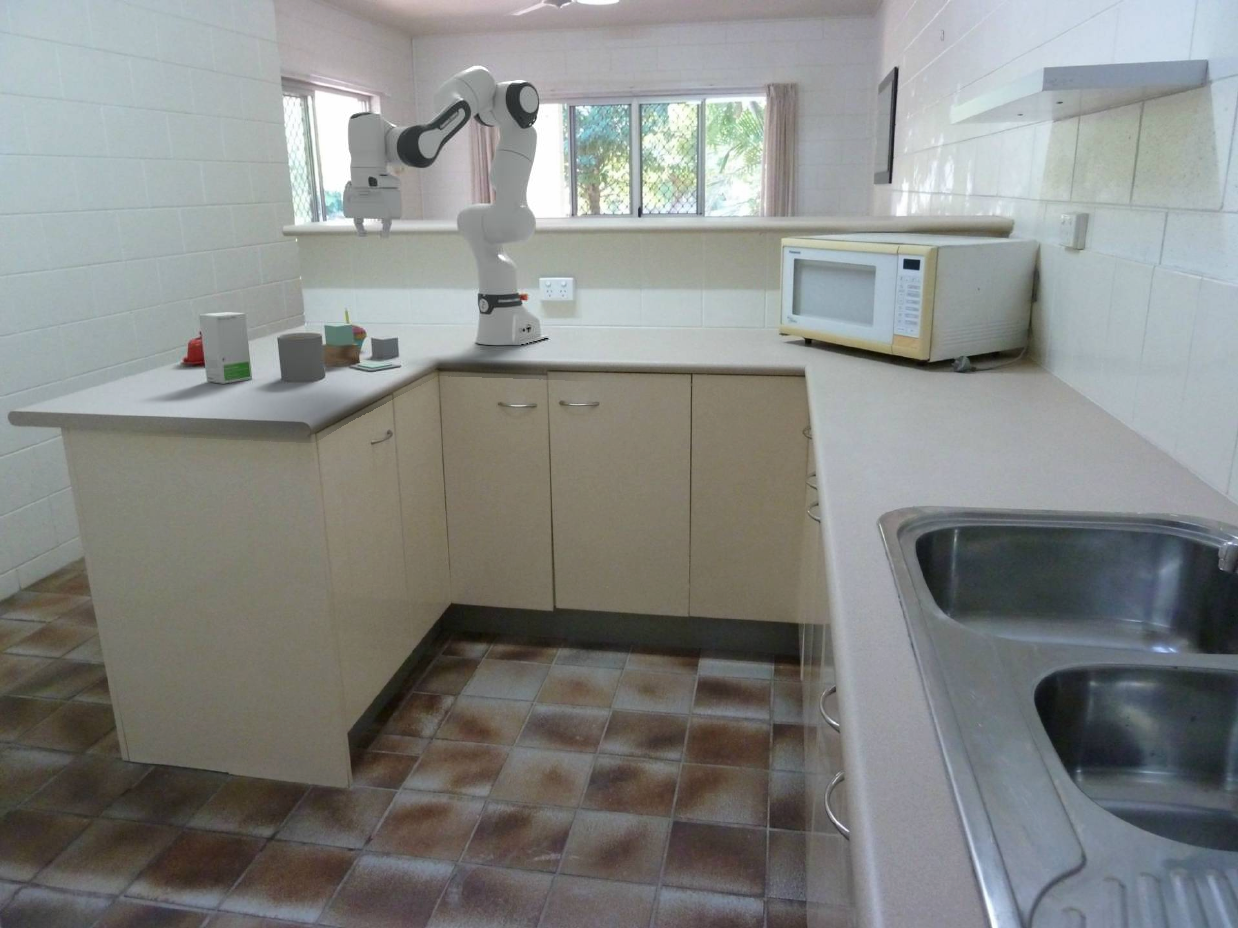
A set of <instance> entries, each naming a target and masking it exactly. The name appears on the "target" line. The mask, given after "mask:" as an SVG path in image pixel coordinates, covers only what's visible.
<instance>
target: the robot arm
mask: <svg viewBox="0 0 1238 928" xmlns="http://www.w3.org/2000/svg"><path fill="white" fill-rule="evenodd" d="M539 97H540V96H539V93H538V91H537V88H536V86H535V85H533V84H532V83H531V82H529V81H527V80H513V81H503V82H498V83H497V82H496V81H495V78H494V76H493V75H492V73H491V72H490V71H489V70H488V69H486V68H485V67H483V66H481V65H474V66H471V67H468V68H466V69H464V70H462V71H460V72H458V73H456V74H454V75H453V76H451V77H450V78H448V79H447V80H445V82H444V83H442V84H441V85H440V86H439V87H438V88H437V89H436V90H435V92H434V95H433V108H434V110H435V112H436V115H435V116H434V117H433V118H432V119H431V120H429V121H428V122H427V123H425V124H415V125H411V126H397V125H395V124H392V123H391V122H389V120H387V119H385V118H384V116H383V115H382V114H381V113H380V112H379V111H376V110H370V111H369V110H368V111H362V112H355V113H353V114H352V115H351V116H350V117H349V119H348V125H347V141H348V142H347V145H348V151H349V154H350V165H349V166H350V167H349V170H350V172H349V173H350V180H348V181H347V183H345V186H344V190H343V192H342V194H343V195H342V213H343V216H344V217H345V218H346V219H353V225H354V226H355V229H356V230H357V237H358V238H366V237H367V236H368V235H367V234H368V233H367V229H365V226H364V219H365V220H367V219H368V220H371V219H373V220H381V224H382V227H381V230H380V231H379V234H380V235H379V236H380V237H379V238H381V239H389V238H390V230H391V227H392V225H393V221H392V220H400V219H401V218H402V216H403V201H402V193H401V190H400V188H401V186H402V184H401V182H402V181H401V179H400V178H398V177H396V176H394V175H392V174H391V173H390V172H388V167H390V168H415V169H417V168H418V169H425V168H428V167H430V166H431V165H433V164H434V163H435V162H436V160H437V159H438V156H439V155H440V153H441V151H442V148H443V147H444V146H445V145H446V144H447V143H448V142H449V141H450V140H451V139H452V138H453V137H454V136H456V134H457V133H458V132H459V131H460V130H462V129H463V127H464V126H465V125H467V123H468V122H469V121H470V120H472V119H474V120H475V121H476V122H477V123H478V124H479V125H482V126H484V127H489V128H491V127H492V128H493V127H499V140H498V143H497V146H496V149H495V152H494V156H493V159H492V163H491V166H490V170H489V173H488V181H489V184H490V186H491V187H492V189H494V190H495V200H494V202H493V203H474V204H470V205H467V206H465V207H463V208H462V209H460V211H459V213H458V214H457V218H456V226H457V231H458V233H459V235H460V236H461V237H462V238H463V239H464V240H465V241H466V242H467V244H468V245H469V247H470V249H471V251H472V254H473V257H474V260H475V262H476V267H477V277H478V280H477V281H478V293H477V306H478V310H479V311H478V322H477V333H476V338H475V343H476V344H478V345H479V344H480V345H485V346H486V345H489V346H490V345H491V346H522V345H521V344H524V345H527V344H526V343H528V344H530V343H529V342H532V343H534V342H533V341H535V340H540V339H542V338H546V337H549V335H548V334H546V333H542V331H541V323H540V319H539V318H538V317H537V316H536V315H535V314H534V313H532V312H531V311H530V310H528V309H527V307H525V306H524V305H523V304H524V303H523V301H525V302H527V301H528V300H529V299H530V298H529V297H530V295H529V294H528V293H521V294H520V293H519V292H518V290H519V289H518V267H517V264H516V263H515V262H514V261H513V259H511V258H510V257H509V255H508V254H507V253H506V251H505V247H504V245H517V244H518V245H519V244H522V243H526V242H529V241H530V240H531V239H532V238H533V237H534V234H535V232H536V228H537V222H536V217H535V214H534V212H533V211H532V210H531V208H530V206H529V204H528V200H527V199H528V198H527V191H528V186H529V185H528V184H529V180H530V177H531V172H532V168H533V165H534V161H535V156H536V151H537V150H536V149H537V145H538V144H537V143H538V141H537V140H538V134H537V130H536V128H535V127H534V126H533V125H534V124H535V123H536V121H537V119H538V114H539V111H540V110H539V109H540V98H539ZM549 338H550V337H549Z"/></svg>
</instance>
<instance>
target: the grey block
mask: <svg viewBox="0 0 1238 928" xmlns="http://www.w3.org/2000/svg"><path fill="white" fill-rule="evenodd" d="M370 343H371V346H370V347H371V356H372V357H374V356H377V357H376V358H379V357H380V359H387V358H388V359H389V358H392V357H393V356H395V357H399V356H400V352H399V350H400V349H399V337H396V336H390V335H382V336H376V337H375V336H374V337H370Z"/></svg>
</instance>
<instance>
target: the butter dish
mask: <svg viewBox="0 0 1238 928" xmlns="http://www.w3.org/2000/svg"><path fill="white" fill-rule="evenodd" d="M187 344H188V345H187V352H186V353H187V355H186V356H184V357H183V360H182V363H183V365H184V364H185V365H188V366H189V365H190V366H193V367H195V366H205V360H204V352H203V343H202V335H201V330H200V331H199V336H198V337H195V338H192V339H191V340H189V341H188V343H187Z"/></svg>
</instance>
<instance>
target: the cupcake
mask: <svg viewBox="0 0 1238 928" xmlns="http://www.w3.org/2000/svg"><path fill="white" fill-rule="evenodd" d="M344 312H345V320H346V324H350V318H349V314H348V312H349V311H348V310H347V307H345V311H344ZM352 325H353V334H354V344H358V345H359V352H361V351H362V347H363V344H364V341H365V339H366V338H367V331H366V330H365V329H364V328H363V327H361V326H358V325H355V324H352Z"/></svg>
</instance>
